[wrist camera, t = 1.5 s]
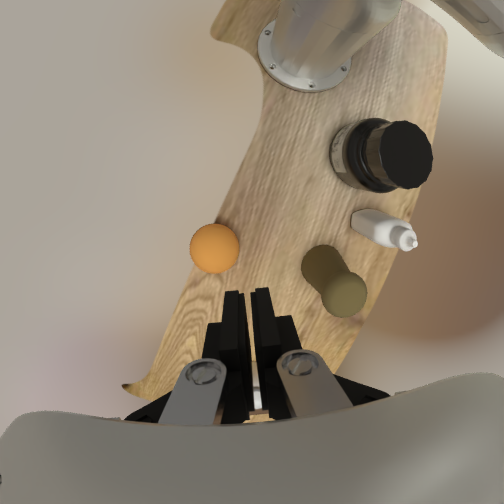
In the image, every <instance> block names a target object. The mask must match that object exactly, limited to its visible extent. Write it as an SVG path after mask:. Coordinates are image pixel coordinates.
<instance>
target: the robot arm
mask: <svg viewBox="0 0 504 504" xmlns="http://www.w3.org/2000/svg"><path fill="white" fill-rule="evenodd" d="M431 1H433V2H434V3H435V4H437V5H438V6H439V7H440V8H442V9H443V10H444V11H446V12H447V13H448V14H449V15H450V16H452V17H453V18H454V19H455V20H457V21H458V22H459V23H460V24H461V25H462V26H463V27H465V28H466V29H467V30H468V31H469V32H470V33H471V34H473V36H474V37H476V38H477V39H478V40H479V41H480V42H481V43H482V44H483V45H485V46H486V47H487V48H488V49H490V50H491V51H492V52H494V53H495V54H497V55H498V56H500V57H502V58H504V0H431ZM401 3H402V0H281V3H280V7H279V11H278V14H277V18H276V19H274V20H273V21H271V22H270V23H269V24H267V26H266V27H265V28H264V29H263V30H262V32H261V34H260V36H259V40H258V47H257V49H258V56H259V59H260V62H261V64H262V66H263V67H264V69H265V70H266V71H267V72H268V74H269V75H270V76H271V77H272V78H274V79H275V80H276V81H277V82H279V83H281V84H283V85H284V86H286V87H288V88H291V89H294V90H297V91H302V92H312V93H314V92H322V91H326V90H329V89H331V88H333V87H335V86H337V85H338V84H339V83H341V82H342V81H343V80H344V78H345V77H346V76H347V74H348V73H349V71H350V67H351V56H352V55H353V54H355V53H356V52H357V51H358V50H359V49H360V48H361V47H362V46H364V45H365V44H366V43H367V42H368V41H369V40H370V39H372V38H373V37H374V36H375V35H376V34H377V33H379V32H380V31H381V30H382V29H383V28H385V27H386V26H387V25H388V24H389V23H391V22H392V21H393V20H394V19H395V17H396V16H397V14H398V12H399V10H400V7H401ZM266 34H268V35H266ZM271 67H272V68H273V70H272V69H270V68H271ZM341 69H342V70H343V71H342V70H341ZM309 86H312V88H310V87H309ZM255 291H256V292H251V293H250V294H251V307H252V320H253V332H254V344H255V354H256V363H257V371H258V379H259V387H260V396H261V404H262V411H264V410H268V411H269V418H273V419H275V421H265V422H254V423H243V422H244V421H245V420H250V417H249V412H253V411H255V405H254V389H253V374H252V357H251V346H250V338H249V330H248V322H247V314H246V306H245V298H244V293H241V294H239V291H238V290H236V291H226V292H225V297H224V305H223V314H222V322H218V323H208V326H207V332H206V337H205V342H204V348H203V353H202V359H198V360H195V361H193V362H191V363H189V364H187V365H186V366H185V367H184V368H183V370H182V371H181V373H180V376H179V378H178V380H177V382H176V384H175V386H174V389H173V390H172V391H170V392H169V393H167V394H165V395H164V396H162V397H160V398H158V399H157V400H155V401H153V402H151V403H150V404H148V405H146V406H144V407H142V408H141V409H139V410H137V411H135V412H133V413H131V414H130V415H129V416H127V417H126V418H125V419H124V420H121V419H120V418H119V417H118V418H103V417H96V416H89V415H83V414H77V413H71V412H70V413H69V412H62V411H38V412H30V413H27V414H23V415H21V416H19V417H17V418H16V419H15V420H14V421H13V422H12V423H11V424H10V426H9V427H8V428H7V429H6V431H5V432H4V433H3V435H2V436H1V438H0V504H504V378H502V377H501V376H499V375H496V374H493V373H468V374H463V375H458V376H453V377H450V378H446V379H443V380H439V381H436V382H433V383H431V384H428V385H425V386H422V387H418V388H416V389H412V390H409V391H402V392H396V393H395V395H394V396H390V395H389V394H387V393H386V392H383V391H381V390H378V389H375V388H372V387H369V386H366V385H363V384H360V383H357V382H354V381H351V380H348V379H345V378H343V377H340V376H337V375H334V374H332V372H331V371H330V369H329V368H328V366H327V365H326V363H325V362H324V360H323V358H322V357H321V356H320V355H319V354H317V353H315V352H314V351H310V350H303V349H302V347H301V343H300V340H299V337H298V334H297V331H296V328H295V325H294V322H293V319H292V316H291V315H287V316H279V317H275V315H274V310H273V306H272V301H271V297H270V292H269V288H268V287H265V288H256V289H255Z"/></svg>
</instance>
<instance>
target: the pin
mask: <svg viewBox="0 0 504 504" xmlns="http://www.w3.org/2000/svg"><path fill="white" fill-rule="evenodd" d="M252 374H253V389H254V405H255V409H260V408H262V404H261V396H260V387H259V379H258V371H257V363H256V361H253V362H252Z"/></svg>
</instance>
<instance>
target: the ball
mask: <svg viewBox="0 0 504 504" xmlns="http://www.w3.org/2000/svg"><path fill="white" fill-rule="evenodd" d="M190 255H191V258H192V260H193V262H194V263H195V265H196V266H197V267H198V268H200V269H201V270H203V271H205V272H207V273H213V274H215V273H221V272H224V271H226V270H228V269H229V268H231V267H232V266H233V265H234V263H235V262H236V260H237V258H238V255H239V242H238V239H237V237H236V235H235V234H234V233H233V231H232V230H230V229H229V228H228V227H226V226H224V225H221V224H208V225H205V226H203V227H201V228H200V229H199V230H198V231H196V233H195V234H194V235H193V237H192V239H191V242H190Z"/></svg>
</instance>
